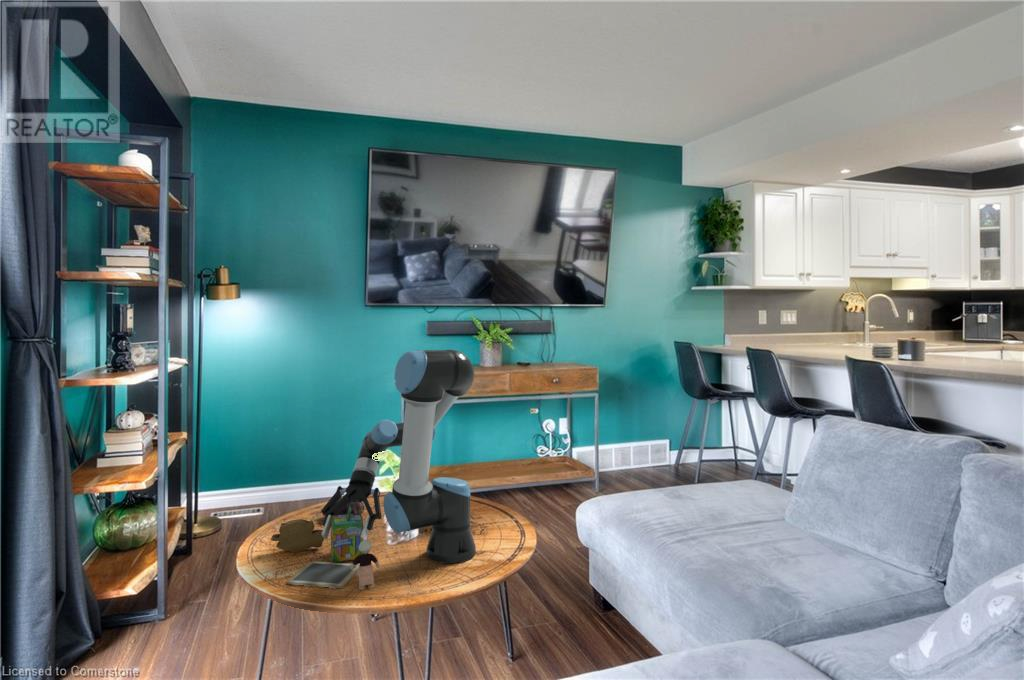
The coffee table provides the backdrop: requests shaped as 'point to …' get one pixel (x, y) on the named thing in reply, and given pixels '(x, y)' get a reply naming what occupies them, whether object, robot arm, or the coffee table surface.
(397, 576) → the coffee table surface
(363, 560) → the grandmother figurine
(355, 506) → the rock
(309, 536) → the wooden carving
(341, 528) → the chalk box
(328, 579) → the chalkboard
